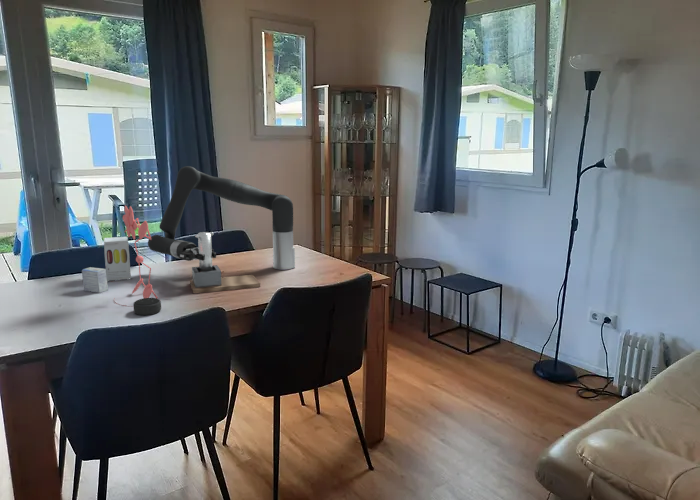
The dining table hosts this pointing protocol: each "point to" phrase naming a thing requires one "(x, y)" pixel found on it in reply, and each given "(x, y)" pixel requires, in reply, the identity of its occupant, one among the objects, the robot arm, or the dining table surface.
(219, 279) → the box
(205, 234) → the silver flared cylinder
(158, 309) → the smart speaker
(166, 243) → the robot arm
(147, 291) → the figurine
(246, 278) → the stand board
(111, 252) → the supplement box
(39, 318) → the dining table surface
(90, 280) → the white paper stack
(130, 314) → the dining table surface
